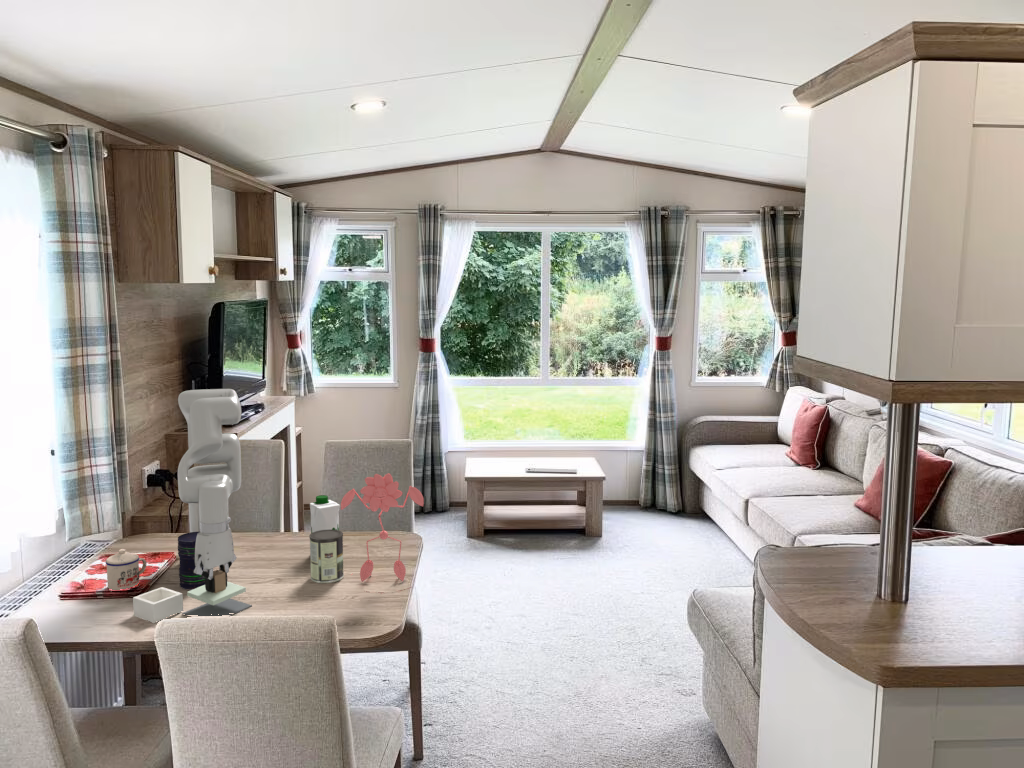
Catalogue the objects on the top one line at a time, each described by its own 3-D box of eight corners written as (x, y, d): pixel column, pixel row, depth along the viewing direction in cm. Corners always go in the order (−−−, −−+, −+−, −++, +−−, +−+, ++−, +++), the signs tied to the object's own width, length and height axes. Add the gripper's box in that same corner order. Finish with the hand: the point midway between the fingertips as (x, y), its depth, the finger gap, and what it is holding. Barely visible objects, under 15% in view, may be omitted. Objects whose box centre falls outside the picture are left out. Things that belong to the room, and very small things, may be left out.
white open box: (162, 605, 222) (162, 586, 221) (183, 612, 217) (182, 593, 217) (133, 616, 214) (132, 597, 213) (154, 623, 210) (153, 604, 209)
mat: (223, 597, 227) (223, 596, 227) (251, 606, 221) (251, 605, 221) (182, 614, 215) (181, 613, 215) (210, 624, 209) (210, 622, 209)
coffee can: (331, 569, 251) (330, 527, 250) (350, 577, 244) (349, 534, 243) (303, 577, 244) (302, 534, 242) (322, 586, 237) (321, 541, 235)
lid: (219, 582, 226) (219, 562, 225) (245, 591, 220) (245, 570, 219) (187, 595, 217) (186, 574, 216) (213, 605, 211) (212, 583, 210)
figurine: (344, 574, 247) (342, 467, 242) (425, 575, 247) (425, 468, 242) (334, 594, 232) (332, 480, 226) (420, 595, 232) (420, 481, 227)
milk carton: (331, 548, 271) (330, 493, 268) (343, 556, 264) (342, 498, 261) (308, 554, 265) (306, 497, 263) (319, 561, 258) (318, 503, 256)
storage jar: (175, 582, 239) (173, 535, 237) (208, 575, 245) (206, 529, 243) (184, 592, 231) (182, 543, 229) (218, 585, 237) (216, 537, 235)
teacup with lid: (118, 595, 228) (116, 557, 227) (100, 588, 233) (98, 551, 231) (155, 582, 238) (153, 545, 237) (137, 576, 243) (135, 540, 242)
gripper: (229, 515, 224) (231, 576, 227) (179, 531, 210) (182, 595, 213) (247, 520, 221) (249, 581, 223) (197, 537, 207) (200, 602, 209)
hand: (216, 587), depth 218 cm, fingers closed on lid, 3 cm apart
